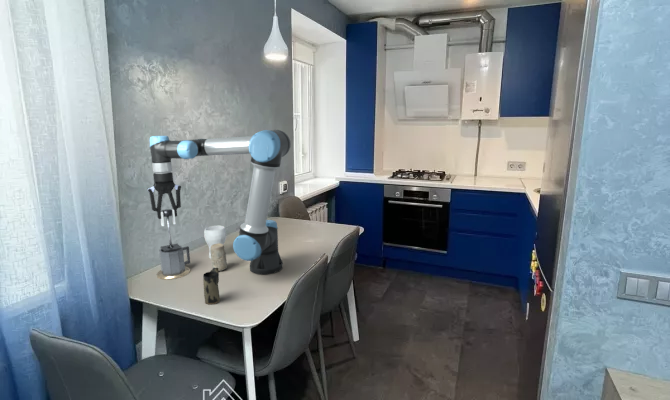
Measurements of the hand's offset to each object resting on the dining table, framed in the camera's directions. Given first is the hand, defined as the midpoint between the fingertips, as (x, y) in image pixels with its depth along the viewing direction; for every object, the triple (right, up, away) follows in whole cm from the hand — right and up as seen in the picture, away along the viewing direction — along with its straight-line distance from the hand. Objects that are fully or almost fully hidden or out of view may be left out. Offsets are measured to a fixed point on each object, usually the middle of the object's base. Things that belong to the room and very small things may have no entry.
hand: (168, 224), depth 161 cm
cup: (+13, -18, +25) cm, 34 cm away
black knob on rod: (0, -12, +3) cm, 13 cm away
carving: (+20, -22, +8) cm, 31 cm away
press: (0, -22, +5) cm, 23 cm away
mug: (+27, -28, -21) cm, 44 cm away
